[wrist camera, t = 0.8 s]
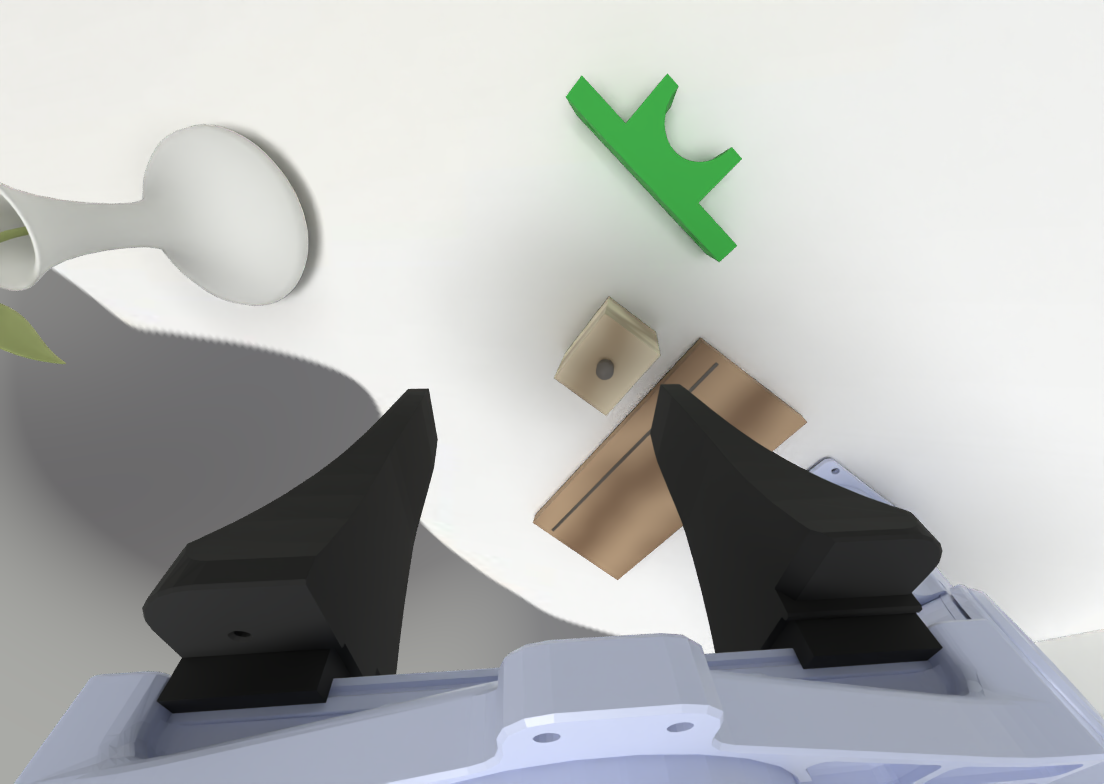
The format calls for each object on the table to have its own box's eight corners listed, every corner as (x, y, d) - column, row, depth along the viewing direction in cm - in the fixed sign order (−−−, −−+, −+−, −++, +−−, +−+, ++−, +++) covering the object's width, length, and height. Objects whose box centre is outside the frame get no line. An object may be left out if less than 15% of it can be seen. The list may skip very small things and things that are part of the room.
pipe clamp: (757, 205, 25) (783, 205, 21) (705, 253, 26) (719, 263, 22) (623, 53, 23) (621, 19, 19) (576, 114, 24) (565, 96, 20)
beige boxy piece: (655, 332, 28) (661, 360, 23) (609, 385, 31) (605, 421, 25) (609, 296, 28) (603, 316, 23) (565, 352, 30) (551, 383, 25)
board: (801, 415, 29) (807, 422, 28) (617, 571, 37) (617, 580, 36) (700, 337, 28) (702, 342, 27) (535, 514, 36) (532, 523, 35)
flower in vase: (148, 186, 31) (-1224, 124, 8) (247, 91, 27) (-1804, -533, 4) (266, 343, 34) (-446, 606, 12) (368, 278, 30) (-390, 481, 8)
